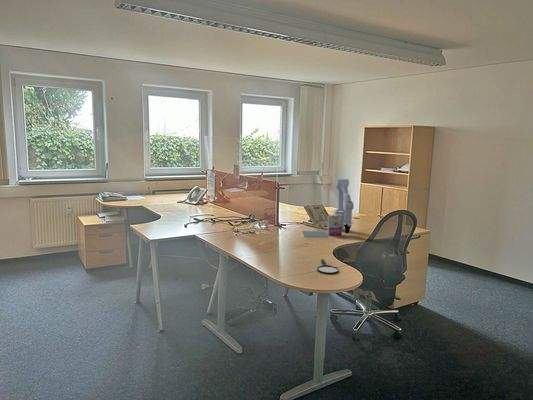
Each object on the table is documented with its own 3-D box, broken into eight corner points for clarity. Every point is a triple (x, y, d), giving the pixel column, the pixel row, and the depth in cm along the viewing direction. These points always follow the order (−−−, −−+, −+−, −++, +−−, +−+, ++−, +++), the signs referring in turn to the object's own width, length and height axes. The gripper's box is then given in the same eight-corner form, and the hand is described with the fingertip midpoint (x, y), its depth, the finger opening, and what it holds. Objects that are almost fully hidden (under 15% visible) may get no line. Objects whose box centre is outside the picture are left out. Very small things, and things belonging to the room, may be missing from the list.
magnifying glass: (332, 262, 260) (332, 259, 260) (340, 275, 236) (340, 272, 236) (312, 262, 259) (312, 258, 259) (319, 275, 236) (319, 272, 235)
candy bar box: (338, 233, 338) (340, 214, 335) (341, 235, 333) (342, 215, 330) (326, 234, 335) (327, 214, 332) (328, 235, 330) (329, 215, 327)
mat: (302, 231, 343) (302, 230, 343) (324, 232, 344) (324, 231, 343) (304, 237, 324) (304, 236, 324) (328, 238, 324) (328, 237, 324)
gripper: (354, 218, 324) (353, 235, 326) (351, 215, 339) (350, 231, 341) (346, 218, 324) (345, 235, 326) (342, 215, 339) (341, 231, 341)
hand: (347, 233), depth 333 cm, fingers closed
